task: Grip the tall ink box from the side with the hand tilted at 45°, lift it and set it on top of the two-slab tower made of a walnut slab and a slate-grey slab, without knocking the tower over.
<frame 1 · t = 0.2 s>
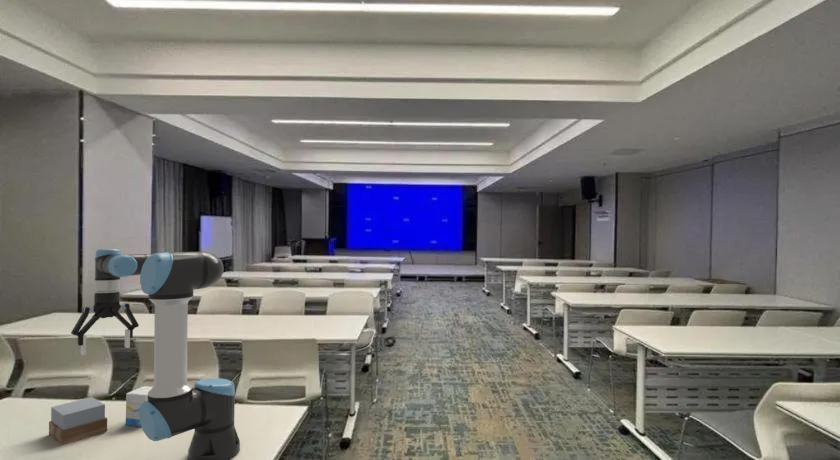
hand: (105, 350, 162), 28 cm above the table, tool pointing down, fingers open, 13 cm apart
grey top slab: (78, 420, 158), point 5 cm above the table
walnut base slab: (78, 434, 158), on the table
ink box: (144, 421, 168), on the table
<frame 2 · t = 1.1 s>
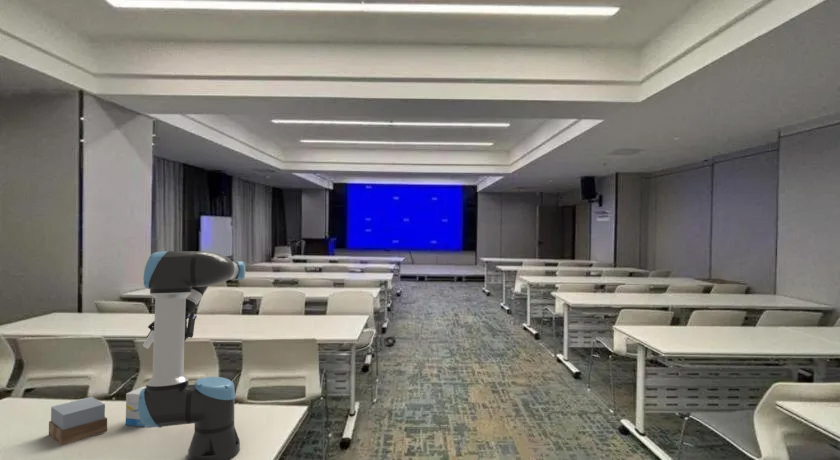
hand: (159, 350, 173), 25 cm above the table, tool tilted 35°, fingers open, 13 cm apart
grey top slab: (78, 419, 158), point 5 cm above the table, touching walnut base slab
walnut base slab: (78, 434, 158), on the table, touching grey top slab
everything else where it was.
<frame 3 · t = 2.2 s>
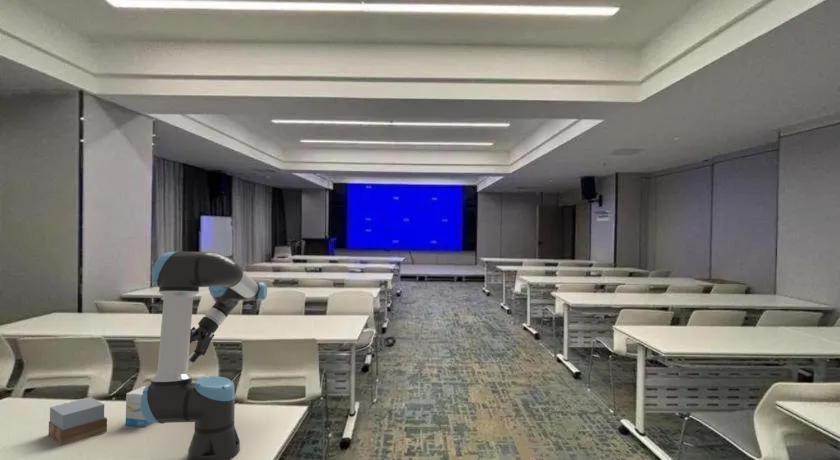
hand: (175, 365, 178), 18 cm above the table, tool tilted 45°, fingers open, 13 cm apart
nothing on the table moved.
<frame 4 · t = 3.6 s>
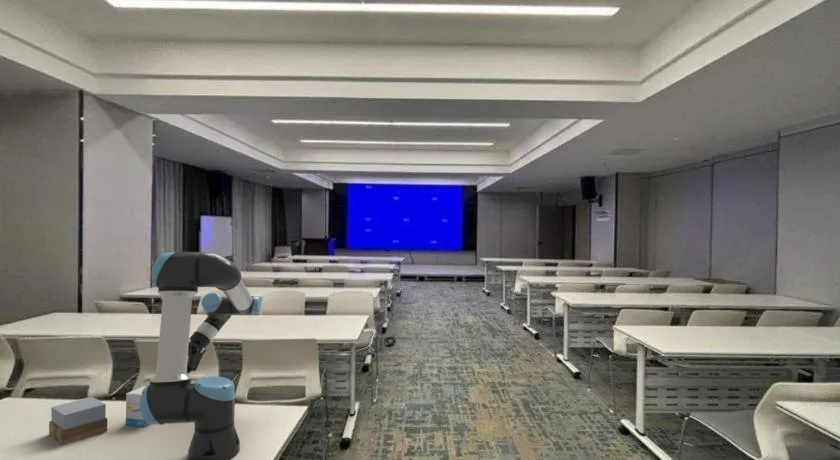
hand: (165, 381, 175), 13 cm above the table, tool tilted 45°, fingers open, 13 cm apart
nothing on the table moved.
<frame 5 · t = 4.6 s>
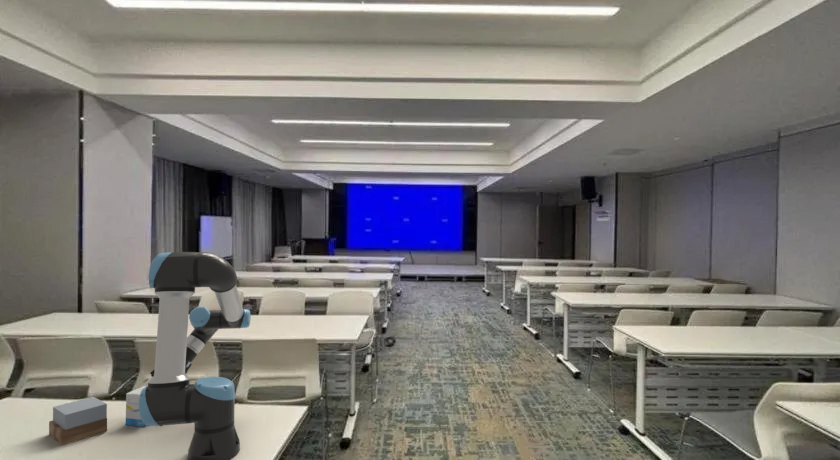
hand: (149, 397, 170), 8 cm above the table, tool tilted 45°, fingers open, 13 cm apart
nothing on the table moved.
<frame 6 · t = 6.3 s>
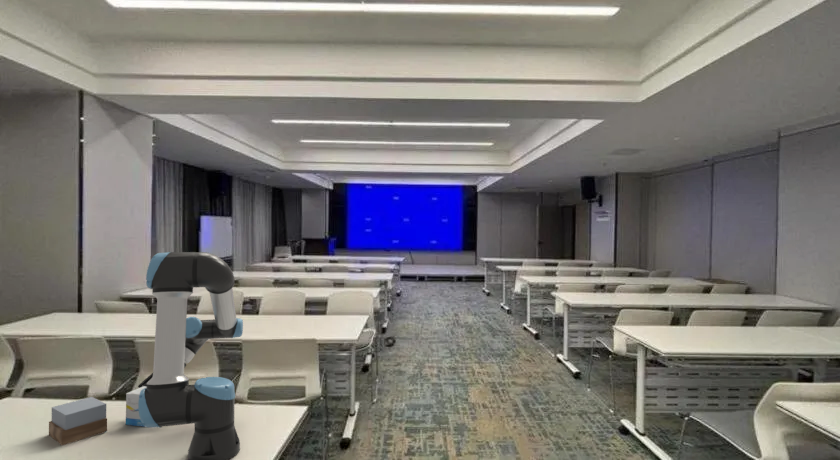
hand: (135, 411, 166), 5 cm above the table, tool tilted 45°, fingers closed on ink box, 11 cm apart
ink box: (144, 421, 168), on the table, touching gripper
everything else where it was.
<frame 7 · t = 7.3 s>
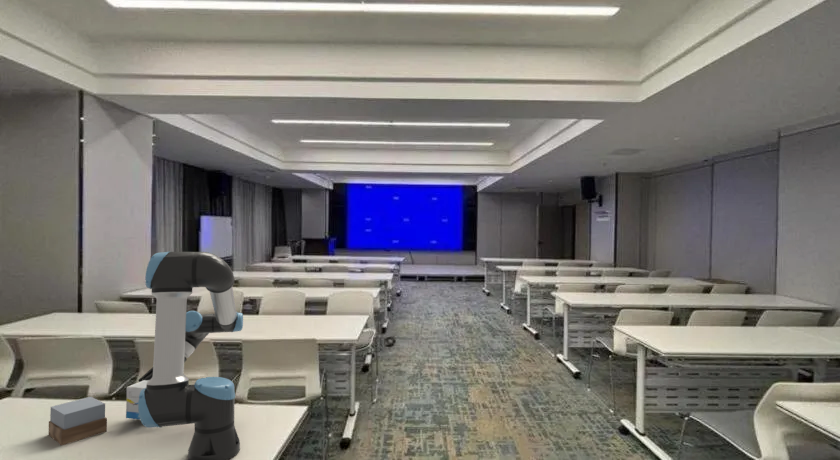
hand: (136, 404, 166), 7 cm above the table, tool tilted 45°, fingers closed on ink box, 11 cm apart
ink box: (144, 415, 168), point 2 cm above the table, touching gripper
everything else where it was.
when the fingers open (16 cm above the table, at t = 12.9 s): ink box drops 2 cm, resting on grey top slab.
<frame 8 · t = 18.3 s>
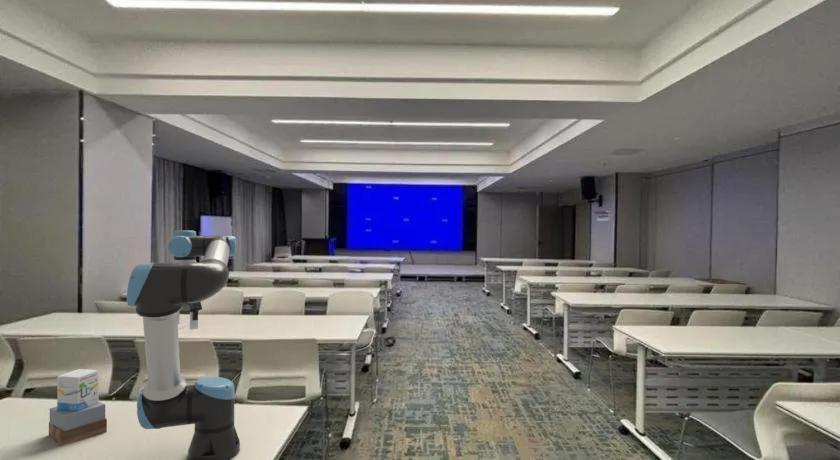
hand: (184, 326, 171), 35 cm above the table, tool pointing down, fingers open, 13 cm apart
grey top slab: (77, 420, 157), point 5 cm above the table, touching ink box, walnut base slab
ink box: (78, 406, 158), point 9 cm above the table, touching grey top slab
everything else where it was.
at the end: ink box inside the target area on the grey top slab (0.2 cm from its centre), point 4.9 cm above the grey top slab's base; grey top slab 0.1 cm off-centre on the walnut base slab, point 5.0 cm above the walnut base slab's base; ink box tilted 1° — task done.
